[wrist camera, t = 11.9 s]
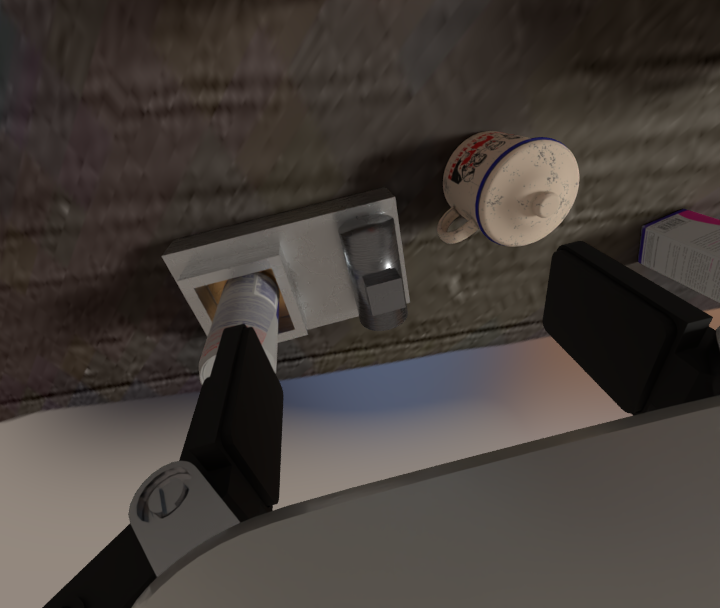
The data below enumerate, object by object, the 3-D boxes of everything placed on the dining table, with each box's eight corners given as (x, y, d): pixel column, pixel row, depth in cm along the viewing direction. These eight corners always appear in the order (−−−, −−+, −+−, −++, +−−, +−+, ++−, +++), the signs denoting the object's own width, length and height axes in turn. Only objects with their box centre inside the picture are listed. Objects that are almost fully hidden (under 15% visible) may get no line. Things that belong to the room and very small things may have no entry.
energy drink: (238, 322, 36) (219, 412, 26) (213, 279, 33) (180, 362, 23) (287, 306, 36) (287, 390, 26) (266, 261, 33) (256, 337, 23)
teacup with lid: (499, 106, 33) (586, 112, 23) (533, 180, 38) (618, 211, 28) (400, 190, 36) (442, 227, 26) (443, 249, 40) (493, 300, 31)
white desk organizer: (223, 332, 41) (203, 402, 32) (173, 240, 34) (131, 294, 25) (400, 285, 42) (431, 340, 33) (385, 186, 35) (418, 220, 26)
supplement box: (636, 263, 47) (726, 308, 37) (641, 225, 43) (740, 263, 34) (677, 247, 46) (779, 287, 37) (685, 206, 43) (798, 240, 34)
